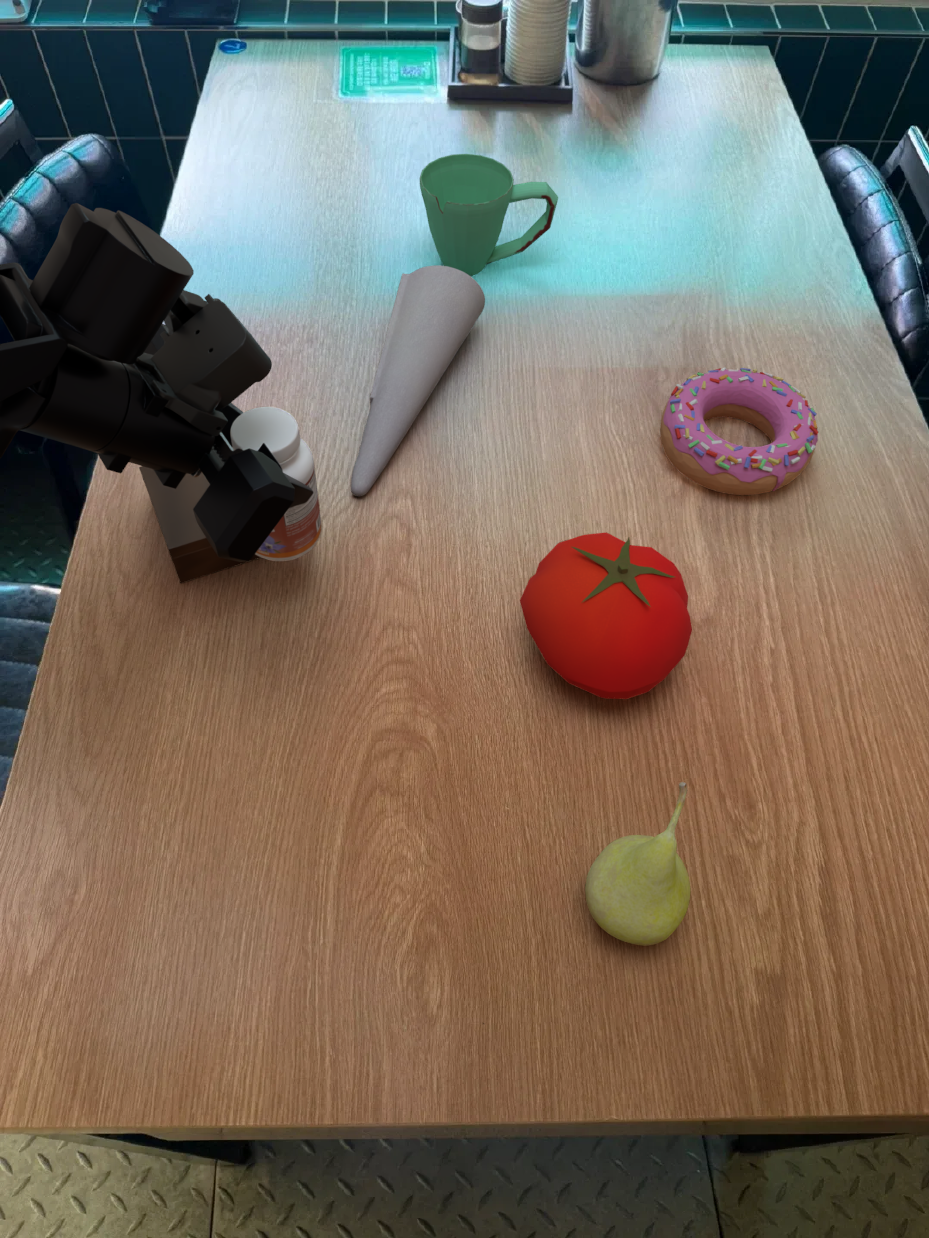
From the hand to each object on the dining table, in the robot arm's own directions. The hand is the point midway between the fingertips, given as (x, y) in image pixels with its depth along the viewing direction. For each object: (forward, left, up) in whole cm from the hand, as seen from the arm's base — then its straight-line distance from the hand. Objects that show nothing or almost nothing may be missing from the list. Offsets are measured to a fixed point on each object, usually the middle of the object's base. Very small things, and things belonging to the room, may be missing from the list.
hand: (289, 468), depth 69 cm
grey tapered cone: (+17, +16, -13) cm, 27 cm away
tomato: (+19, -16, -13) cm, 28 cm away
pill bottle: (-1, 0, -7) cm, 7 cm away
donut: (+42, -1, -13) cm, 44 cm away
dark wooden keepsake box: (-4, +9, -13) cm, 16 cm away
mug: (+33, +35, -13) cm, 50 cm away
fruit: (+11, -35, -13) cm, 39 cm away
